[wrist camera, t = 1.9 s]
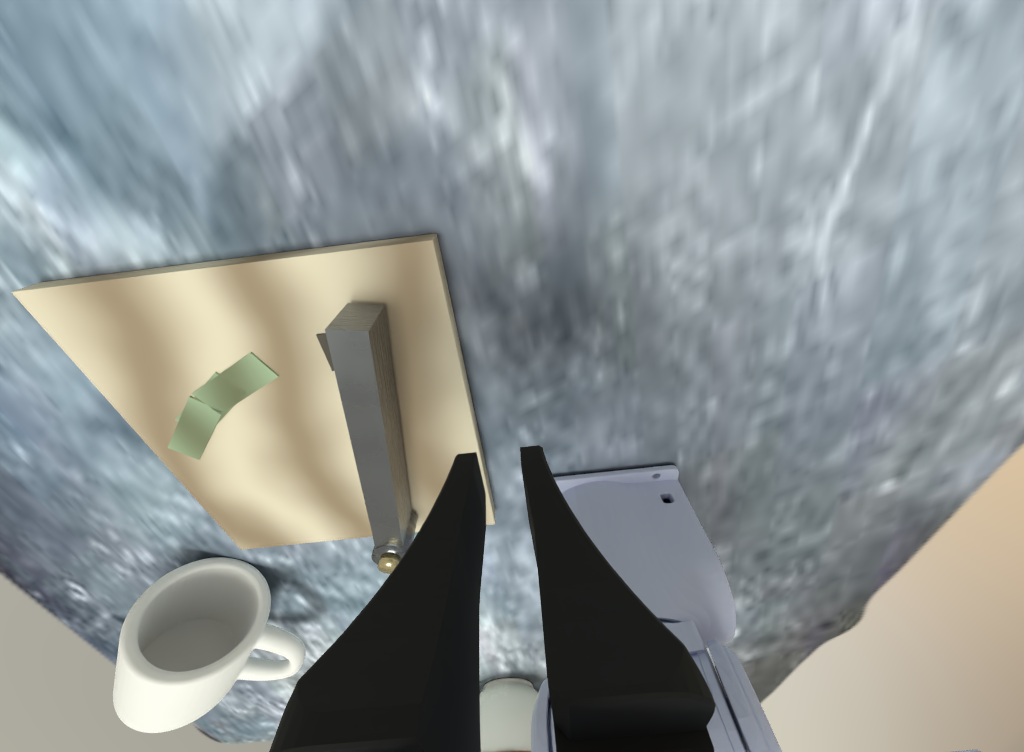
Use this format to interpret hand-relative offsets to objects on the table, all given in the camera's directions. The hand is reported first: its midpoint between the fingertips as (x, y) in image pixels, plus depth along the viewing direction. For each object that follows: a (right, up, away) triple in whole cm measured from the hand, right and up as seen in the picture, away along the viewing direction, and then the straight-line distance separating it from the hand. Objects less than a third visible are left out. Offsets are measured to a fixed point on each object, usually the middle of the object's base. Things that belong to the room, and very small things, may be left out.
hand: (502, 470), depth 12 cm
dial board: (-11, +1, +9) cm, 14 cm away
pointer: (-7, 0, +8) cm, 11 cm away
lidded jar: (0, -35, +33) cm, 48 cm away
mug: (-22, -15, +20) cm, 33 cm away
